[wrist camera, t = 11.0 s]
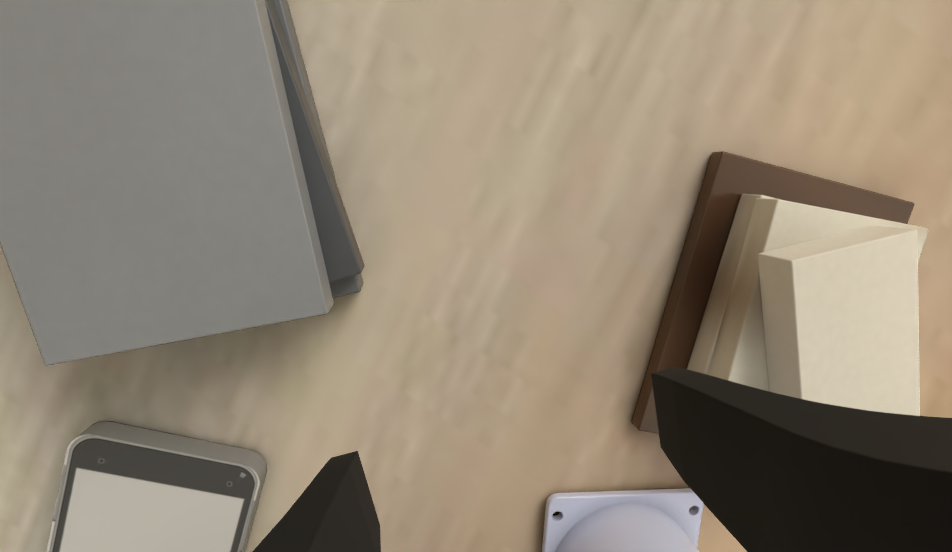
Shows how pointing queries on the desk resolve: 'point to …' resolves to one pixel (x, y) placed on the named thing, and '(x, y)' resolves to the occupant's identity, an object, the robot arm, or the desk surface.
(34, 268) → the grey book stack
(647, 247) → the desk surface
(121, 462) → the smartphone
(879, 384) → the cream rectangular block
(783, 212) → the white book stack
